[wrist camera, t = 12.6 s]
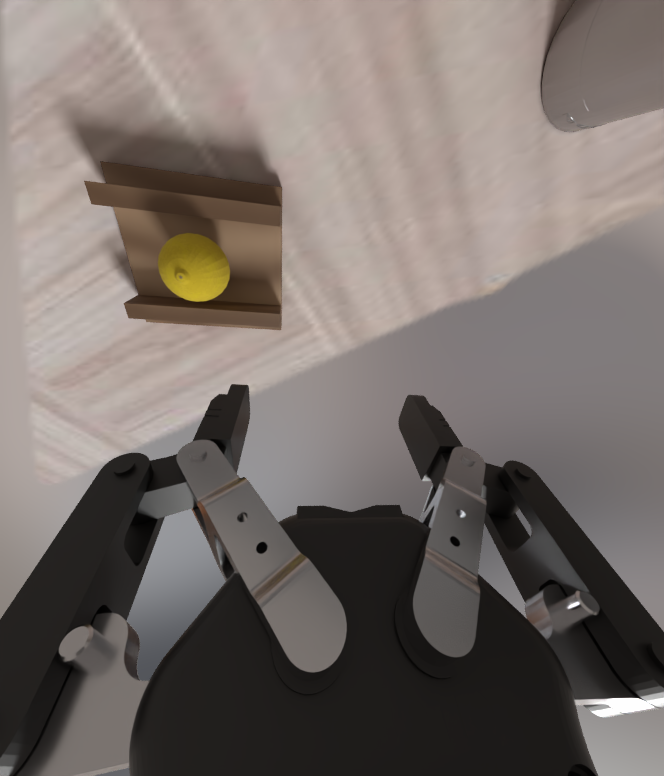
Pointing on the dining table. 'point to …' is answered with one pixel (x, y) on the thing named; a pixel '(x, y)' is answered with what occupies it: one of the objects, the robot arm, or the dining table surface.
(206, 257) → the lemon
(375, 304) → the dining table surface
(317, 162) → the dining table surface
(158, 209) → the cradle
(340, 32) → the dining table surface
